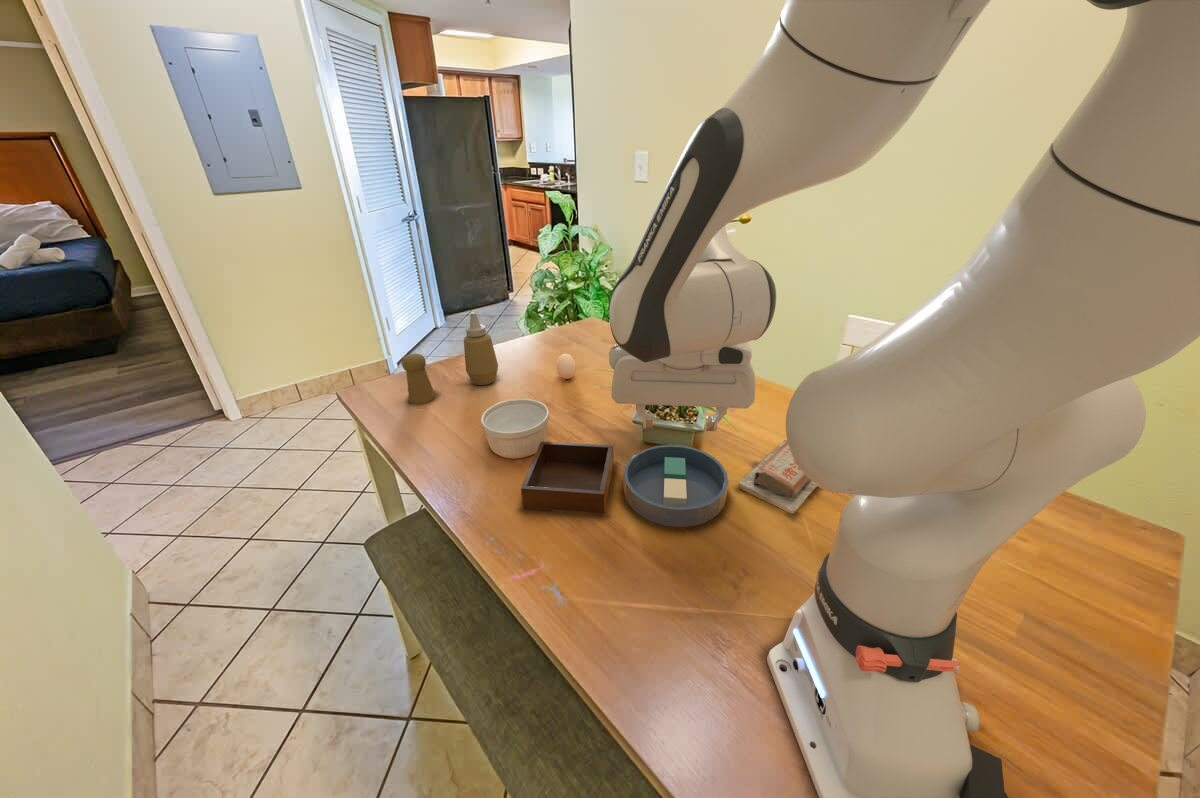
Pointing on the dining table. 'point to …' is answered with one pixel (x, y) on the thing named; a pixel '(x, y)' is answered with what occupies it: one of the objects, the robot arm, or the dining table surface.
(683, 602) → the dining table surface
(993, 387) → the robot arm
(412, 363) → the pepper mill
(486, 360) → the squeeze bottle
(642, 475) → the bowl
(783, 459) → the packaged product
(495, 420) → the ramekin
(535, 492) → the tray
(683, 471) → the teal rectangular block
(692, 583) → the dining table surface
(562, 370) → the egg
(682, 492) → the beige block
